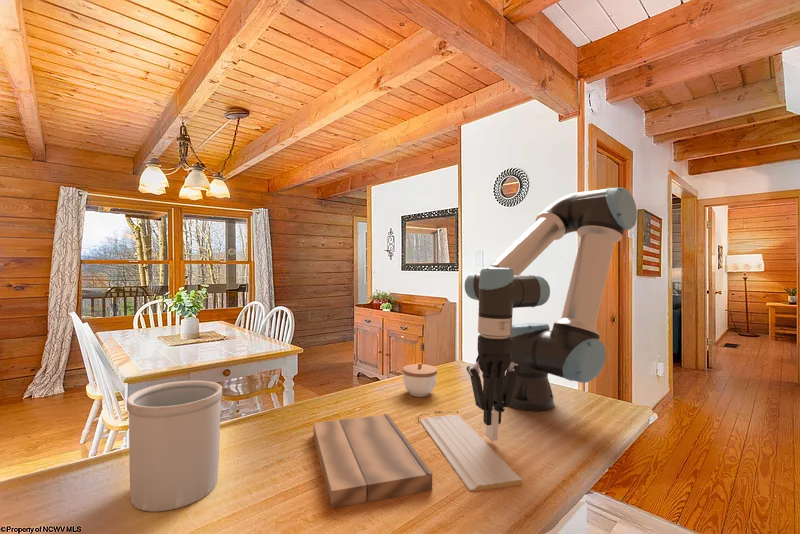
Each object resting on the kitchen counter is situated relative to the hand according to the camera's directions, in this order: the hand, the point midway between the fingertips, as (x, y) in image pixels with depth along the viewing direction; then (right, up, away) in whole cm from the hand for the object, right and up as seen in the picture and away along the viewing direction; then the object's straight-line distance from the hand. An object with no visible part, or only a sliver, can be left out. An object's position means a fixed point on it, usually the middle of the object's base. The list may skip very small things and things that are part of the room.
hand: (491, 437), depth 91 cm
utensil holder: (-61, -1, -19) cm, 64 cm away
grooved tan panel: (-28, -1, -8) cm, 29 cm away
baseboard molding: (-8, -2, -3) cm, 8 cm away
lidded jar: (-15, 0, +32) cm, 35 cm away
